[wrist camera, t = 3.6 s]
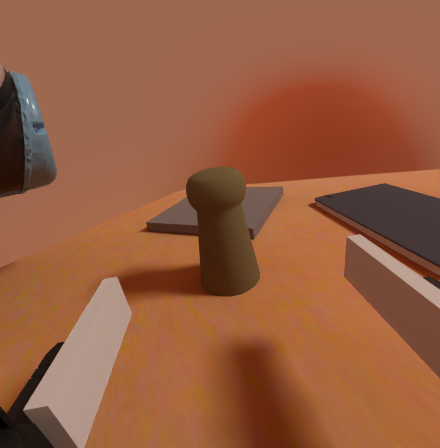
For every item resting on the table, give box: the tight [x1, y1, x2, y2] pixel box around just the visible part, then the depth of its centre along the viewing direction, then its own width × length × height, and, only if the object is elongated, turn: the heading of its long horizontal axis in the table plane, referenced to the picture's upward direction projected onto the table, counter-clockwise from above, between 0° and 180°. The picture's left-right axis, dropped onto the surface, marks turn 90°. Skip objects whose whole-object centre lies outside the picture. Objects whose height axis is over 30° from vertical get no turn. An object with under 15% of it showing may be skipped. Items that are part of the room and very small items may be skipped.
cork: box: [186, 167, 260, 296], centre depth 22 cm, size 6×6×11 cm
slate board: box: [146, 187, 283, 239], centre depth 42 cm, size 18×18×2 cm
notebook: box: [315, 183, 440, 276], centre depth 30 cm, size 13×2×21 cm
